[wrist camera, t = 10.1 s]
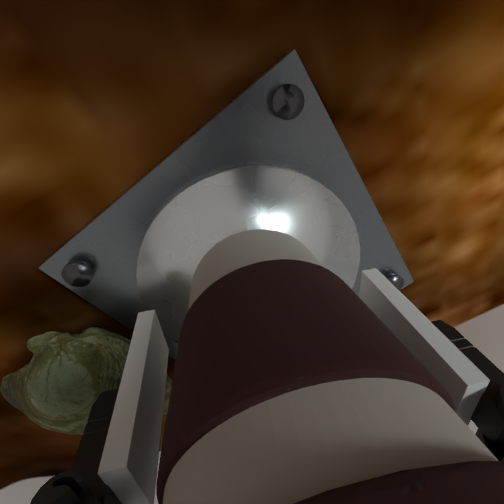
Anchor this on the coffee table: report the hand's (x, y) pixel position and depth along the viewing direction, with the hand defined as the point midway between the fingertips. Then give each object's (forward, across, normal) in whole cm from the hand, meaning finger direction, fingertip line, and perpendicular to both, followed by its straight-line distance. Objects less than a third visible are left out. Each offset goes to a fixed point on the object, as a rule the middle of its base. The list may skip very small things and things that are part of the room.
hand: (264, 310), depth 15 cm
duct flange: (+4, 0, 0) cm, 4 cm away
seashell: (+4, -11, -6) cm, 13 cm away
